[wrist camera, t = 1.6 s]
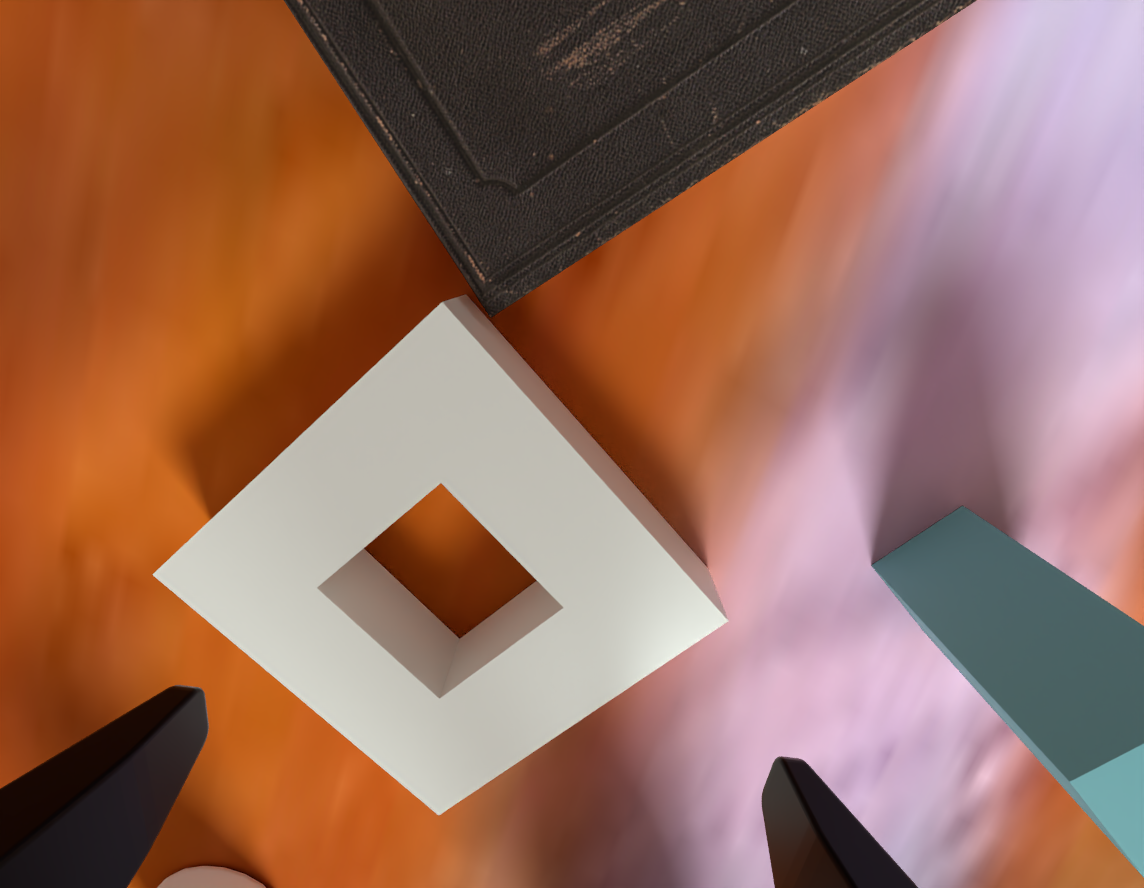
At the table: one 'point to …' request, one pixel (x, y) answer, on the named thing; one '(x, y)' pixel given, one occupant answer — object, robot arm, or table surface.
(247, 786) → the table surface
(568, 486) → the socket block
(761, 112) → the hardcover book
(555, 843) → the table surface
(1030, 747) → the peg
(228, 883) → the white bottle
